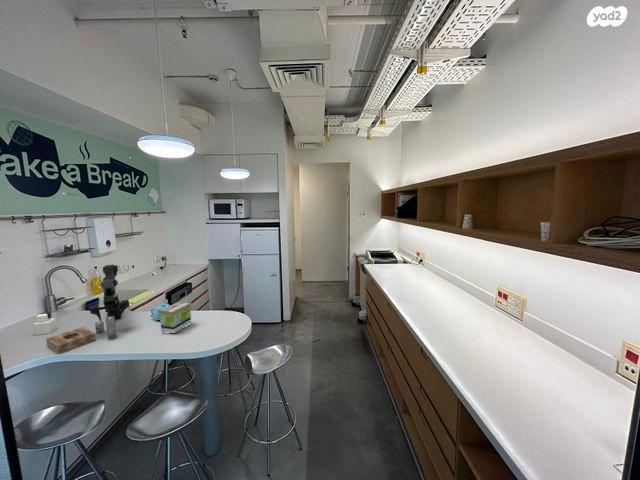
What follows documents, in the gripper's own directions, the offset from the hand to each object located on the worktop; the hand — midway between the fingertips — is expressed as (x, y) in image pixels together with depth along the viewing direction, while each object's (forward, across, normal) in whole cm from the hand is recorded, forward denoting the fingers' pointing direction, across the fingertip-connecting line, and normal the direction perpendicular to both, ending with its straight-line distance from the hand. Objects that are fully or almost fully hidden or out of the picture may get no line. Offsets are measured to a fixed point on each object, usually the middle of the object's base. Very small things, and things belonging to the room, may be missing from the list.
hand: (110, 319), depth 155 cm
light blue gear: (0, +29, +15) cm, 33 cm away
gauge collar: (+6, -18, +9) cm, 21 cm away
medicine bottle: (-14, -34, +29) cm, 47 cm away
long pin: (+10, 0, +5) cm, 11 cm away
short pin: (0, -6, +14) cm, 16 cm away
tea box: (+16, +33, -1) cm, 37 cm away
